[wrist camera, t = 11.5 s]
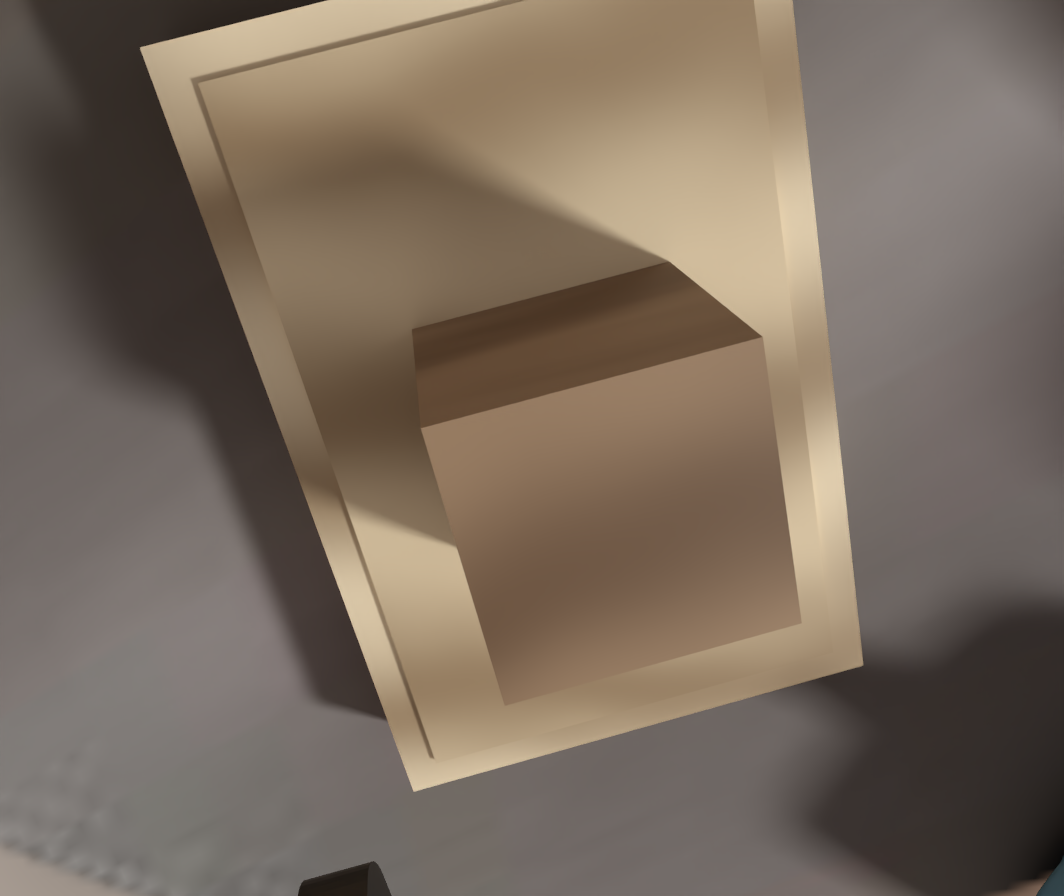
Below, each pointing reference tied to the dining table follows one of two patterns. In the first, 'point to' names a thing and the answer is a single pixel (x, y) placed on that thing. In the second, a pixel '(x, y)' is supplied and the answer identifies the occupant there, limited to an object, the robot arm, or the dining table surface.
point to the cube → (608, 477)
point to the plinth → (506, 293)
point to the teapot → (1054, 882)
